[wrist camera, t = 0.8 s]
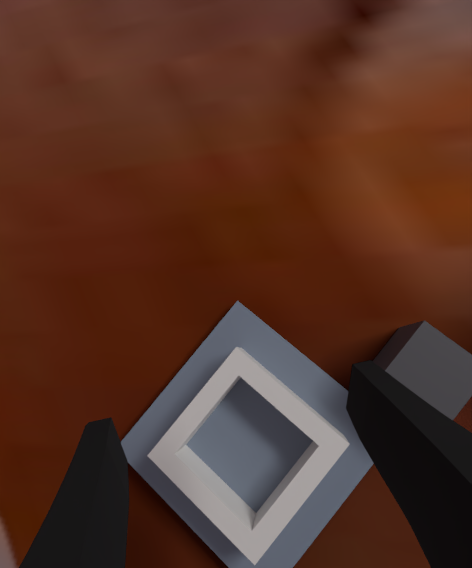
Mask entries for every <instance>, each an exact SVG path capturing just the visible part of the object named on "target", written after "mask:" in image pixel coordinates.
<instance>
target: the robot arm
mask: <svg viewBox="0 0 472 568" xmlns="http://www.w3.org/2000/svg"><path fill="white" fill-rule="evenodd" d="M346 410H347V412H348V414H349V417H350V419H351V421H352V424H353V426H354V428H355V430H356V432H357V434H358V437H359V439H360V441H361V442H362V444H363V446H364V448H365V449H366V451H367V453H368V454H369V456H370V458H371V459H372V461H373V463H374V464H375V466H376V468H377V469H378V471H379V473H380V474H381V476H382V478H383V479H384V481H385V483H386V484H387V486H388V488H389V489H390V491H391V493H392V494H393V496H394V498H395V499H396V501H397V503H398V504H399V506H400V508H401V509H402V511H403V513H404V515H405V516H406V518H407V520H408V522H409V524H410V525H411V527H412V529H413V531H414V533H415V535H416V537H417V539H418V541H419V544H420V546H421V548H422V550H423V552H424V554H425V556H426V558H427V560H428V562H429V564H430V566H431V568H472V433H471V432H469V431H468V430H466V429H465V428H463V427H462V426H460V425H459V424H457V423H456V422H454V421H453V420H451V419H450V418H448V417H447V416H445V415H444V414H443V413H441V412H440V411H438V410H437V409H436V408H434V407H433V406H431V405H430V404H429V403H427V402H426V401H424V400H423V399H422V398H420V397H419V396H418V395H416V394H415V393H414V392H412V391H411V390H410V389H408V388H407V387H406V386H404V385H403V384H402V383H400V382H399V381H398V380H396V379H395V378H394V377H392V376H391V375H390V374H389V373H387V372H386V371H385V370H383V369H382V368H381V367H379V366H378V365H377V364H375V363H374V362H373V361H371V360H369V361H365V362H360V363H356V364H353V365H352V371H351V378H350V384H349V391H348V397H347V404H346ZM128 509H129V483H128V462H127V458H126V456H125V453H124V450H123V448H122V445H121V442H120V440H119V437H118V434H117V432H116V429H115V426H114V424H113V421H112V418H107V419H102V420H98V421H93V422H89V423H88V424H87V425H86V426H85V429H84V431H83V434H82V437H81V439H80V442H79V444H78V447H77V449H76V452H75V454H74V457H73V459H72V462H71V464H70V466H69V468H68V471H67V473H66V475H65V478H64V480H63V482H62V484H61V486H60V488H59V491H58V493H57V495H56V497H55V499H54V501H53V503H52V506H51V508H50V510H49V512H48V514H47V516H46V518H45V520H44V522H43V524H42V526H41V528H40V529H39V531H38V533H37V535H36V537H35V539H34V541H33V543H32V545H31V547H30V549H29V551H28V553H27V554H26V556H25V558H24V560H23V562H22V563H21V565H20V567H19V568H125V557H126V541H127V525H128Z"/></svg>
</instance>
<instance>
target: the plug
mask: <svg viewBox="0 0 472 568" xmlns="http://www.w3.org/2000/svg"><path fill="white" fill-rule="evenodd" d="M373 362H374V363H375V364H377V365H378V366H379V367H381V368H382V369H383V370H385V371H386V372H387V373H389V374H390V375H391V376H392V377H394V378H395V379H396V380H398V381H399V382H400V383H402V384H403V385H404V386H406V387H407V388H408V389H410V390H411V391H412V392H414V393H415V394H416V395H418V396H419V397H420V398H422V399H423V400H424V401H426V402H427V403H429V404H430V405H431V406H433V407H434V408H436V409H437V410H438V411H440V412H441V413H443V414H444V415H445V416H447V417H448V418H450V419H451V420H453V419H454V418H455V417H456V416H457V414H458V413H459V412H460V410H461V409H462V408H463V406H464V405H465V404H466V403H467V401H468V400H469V399H470V397H471V396H472V355H471V354H470V353H468V352H467V351H466V350H464V349H463V348H462V347H460V346H459V345H457V344H456V343H455V342H453V341H452V340H451V339H449V338H448V337H446V336H445V335H444V334H442V333H441V332H439V331H438V330H437V329H435V328H434V327H433V326H431V325H430V324H428V323H427V322H426V321H421V322H417V323H414V324H410V325H407V326H403V327H399V328H398V330H397V331H396V332H395V334H394V335H393V336H392V337H391V339H390V340H389V341H388V342H387V344H386V345H385V346H384V347H383V349H382V350H381V351H380V352H379V354H378V355H377V356H376V358H375V359H374V360H373Z"/></svg>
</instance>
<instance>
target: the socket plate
mask: <svg viewBox="0 0 472 568" xmlns="http://www.w3.org/2000/svg"><path fill="white" fill-rule="evenodd" d="M347 397H348V391H347V390H346V389H345V388H344V387H342V386H341V385H340V384H339V383H338V382H336V381H335V380H334V379H333V378H331V377H330V376H329V375H328V374H327V373H325V372H324V371H323V370H322V369H320V368H319V367H318V366H317V365H316V364H314V363H313V362H312V361H311V360H309V359H308V358H307V357H306V356H305V355H303V354H302V353H301V352H300V351H298V350H297V349H296V348H295V347H294V346H292V345H291V344H290V343H289V342H287V341H286V340H285V339H284V338H283V337H281V336H280V335H279V334H278V333H276V332H275V331H274V330H273V329H272V328H270V327H269V326H268V325H267V324H265V323H264V322H263V321H262V320H261V319H259V318H258V317H257V316H256V315H254V314H253V313H252V312H251V311H250V310H248V309H247V308H246V307H245V306H243V305H242V304H241V303H240V302H239V301H237V302H236V303H235V304H234V306H233V307H232V308H231V309H230V310H229V312H228V313H227V314H226V315H225V316H224V318H223V319H222V320H221V321H220V323H219V324H218V325H217V326H216V327H215V329H214V330H213V331H212V332H211V333H210V335H209V336H208V337H207V338H206V339H205V341H204V342H203V343H202V344H201V346H200V347H199V348H198V349H197V350H196V352H195V353H194V354H193V355H192V356H191V358H190V359H189V360H188V361H187V363H186V364H185V365H184V366H183V367H182V369H181V370H180V371H179V372H178V373H177V375H176V376H175V377H174V378H173V380H172V381H171V382H170V383H169V384H168V386H167V387H166V388H165V389H164V390H163V392H162V393H161V394H160V395H159V396H158V398H157V399H156V400H155V401H154V403H153V404H152V405H151V406H150V407H149V409H148V410H147V411H146V412H145V413H144V415H143V416H142V417H141V418H140V420H139V421H138V422H137V423H136V424H135V426H134V427H133V428H132V429H131V430H130V432H129V433H128V434H127V435H126V436H125V438H124V439H123V440H122V441H121V445H122V448H123V450H124V453H125V456H126V458H127V462H128V463H129V464H130V465H131V466H132V467H133V468H134V469H135V470H136V471H137V472H138V473H139V474H140V475H141V476H142V477H143V479H144V480H145V481H146V482H147V483H148V484H149V485H150V486H151V487H152V488H153V489H154V490H155V491H156V492H157V493H158V494H159V495H160V496H161V497H162V498H163V499H164V500H165V502H166V503H167V504H168V505H169V506H170V507H171V508H172V509H173V510H174V511H175V512H176V513H177V514H178V515H179V516H180V517H181V518H182V519H183V520H184V521H185V522H186V523H187V524H188V526H189V527H190V528H191V529H192V530H193V531H194V532H195V533H196V534H197V535H198V536H199V537H200V538H201V539H202V540H203V541H204V542H205V543H206V544H207V545H208V546H209V547H210V549H211V550H212V551H213V552H214V553H215V554H216V555H217V556H218V557H219V558H220V559H221V560H222V561H223V562H224V563H225V564H226V565H227V566H228V567H229V568H293V567H294V565H295V564H296V563H297V561H298V560H299V559H300V558H301V556H302V555H303V554H304V552H305V551H306V550H307V549H308V547H309V546H310V545H311V543H312V542H313V541H314V540H315V538H316V537H317V536H318V534H319V533H320V532H321V531H322V529H323V528H324V527H325V525H326V524H327V523H328V522H329V520H330V519H331V518H332V516H333V515H334V514H335V512H336V511H337V510H338V509H339V507H340V506H341V505H342V503H343V502H344V501H345V500H346V498H347V497H348V496H349V494H350V493H351V492H352V491H353V489H354V488H355V487H356V485H357V484H358V483H359V482H360V480H361V479H362V478H363V476H364V475H365V474H366V473H367V471H368V470H369V469H370V467H371V466H372V465H373V461H372V459H371V458H370V456H369V454H368V453H367V451H366V449H365V448H364V446H363V444H362V442H361V441H360V439H359V437H358V434H357V432H356V430H355V428H354V426H353V424H352V421H351V419H350V417H349V414H348V412H347V410H346V404H347Z"/></svg>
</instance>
